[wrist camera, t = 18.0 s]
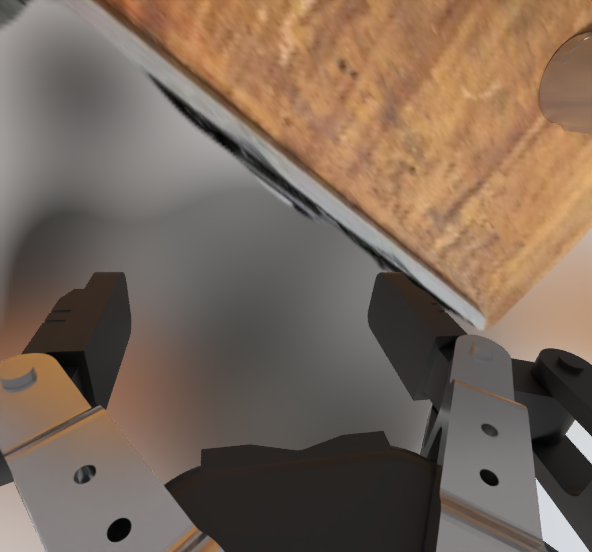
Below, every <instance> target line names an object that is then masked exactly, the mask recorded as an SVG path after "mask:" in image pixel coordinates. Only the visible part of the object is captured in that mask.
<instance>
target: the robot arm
mask: <svg viewBox="0 0 592 552" xmlns="http://www.w3.org/2000/svg"><path fill="white" fill-rule="evenodd" d="M539 102H540V107H541V110H542V112H543V115H544V116H545V117H546V118H547V119H548V120H549V121H551V122H553V123H557V124H560V125H562V126H563V129H564V130H565V131H572V132H580V133H588V134H592V32H587V33H583V34H579V35H577V36H575V37H573V38H571V39H570V40H569V41H567V42H566V43H565V44H564V45H562V47H561V48H560V49H559V50H558V51H557V52H556V53H555V55H554V56H553V58H552V59H551V60H550V62H549V64H548V66H547V68H546V70H545V72H544V75H543V78H542V81H541V85H540V91H539ZM368 323H369V327H370V329H371V331H372V333H373V334H374V336H375V337H376V339H377V341H378V342H379V344H380V346H381V347H382V349H383V351H384V352H385V354H386V356H387V357H388V359H389V361H390V362H391V364H392V366H393V367H394V369H395V371H396V372H397V374H398V376H399V377H400V379H401V381H402V382H403V384H404V385H405V387H406V389H407V391H408V392H409V394H410V396H411V397H412V399H413V400H414V401H415V400H427V399H430V401H431V402H432V405H431V407H430V410H429V413H428V417H427V422H426V427H425V432H424V437H423V441H422V446H421V451H420V455H419V454H417V453H415V452H412V451H409V450H406V449H402V448H399V447H395V446H390V444H389V442H388V440H387V438H386V436H385V434H384V431H378V432H368V433H358V434H349V435H342V436H339V437H336V438H333V439H331V440H328V441H325V442H323V443H320V444H317V445H315V446H312V447H309V448H307V449H304V450H299V451H297V450H288V449H281V448H273V447H264V446H258V445H240V446H231V447H221V448H211V449H202V450H201V466H198V467H195V468H193V469H190V470H188V471H186V472H184V473H182V474H180V475H179V476H177V477H175V478H174V479H172V480H170V481H169V482H168V483H166V484H165V485H163V484H162V483H161V481H160V480H159V479H158V477H157V476H156V475H155V474H154V472H152V470H151V468H150V467H149V466H148V465H147V463H146V462H145V461H144V459H143V458H142V457H141V455H140V454H139V453H138V452H137V450H136V449H135V448H134V446H133V445H132V444H131V442H130V441H129V440H128V439H127V437H126V436H125V435H124V433H123V432H122V431H121V430H120V428H119V427H118V426H117V425H116V423H115V422H114V421H113V419H112V418H111V417H110V415H109V414H108V413H107V411H106V408H107V405H108V402H109V399H110V396H111V393H112V390H113V387H114V384H115V381H116V378H117V375H118V372H119V369H120V365H121V362H122V359H123V356H124V353H125V350H126V347H127V344H128V341H129V338H130V334H131V312H130V304H129V297H128V290H127V283H126V277H125V274H124V273H123V272H95V273H94V274H93V276H92V277H91V279H90V280H89V282H88V284H87V285H86V287H85V289H74V290H72V291H71V292H69V293H68V294H66V295H65V296H63V297H62V298H60V299H59V300H58V302H57V303H56V305H55V306H54V307H53V309H52V310H51V313H49V315H48V316H47V318H46V319H45V323H42V325H41V326H40V328H39V329H38V331H37V332H36V333H35V335H34V336H33V338H32V339H31V341H30V342H29V344H28V345H27V347H26V348H25V349H24V351H23V352H22V354H21V355H18V356H14V357H11V358H8V359H6V360H3V361H1V362H0V486H2V485H5V484H8V483H10V482H13V481H14V484H15V486H16V488H17V490H18V492H19V495H20V497H21V499H22V501H23V504H24V506H25V508H26V510H27V512H28V515H29V517H30V519H31V521H32V524H33V526H34V528H35V530H36V533H37V535H38V537H39V539H40V541H41V544H42V546H43V548H44V550H45V552H558V551H557V550H555V549H554V548H553V547H551V546H550V545H548V544H547V543H546V542H544V541H543V539H542V532H541V523H540V514H539V505H538V496H537V488H536V479H535V477H536V478H537V480H538V481H539V483H540V484H541V485H542V487H543V488H544V489H545V491H546V492H547V494H548V495H549V496H550V498H551V499H552V500H553V502H554V503H555V504H556V506H557V507H558V509H559V510H560V511H561V513H562V514H563V515H564V517H565V518H566V520H567V521H568V522H569V524H570V525H571V526H572V528H573V529H574V530H575V532H576V533H577V534H578V536H579V537H580V539H581V540H582V541H583V543H584V544H585V546H586V547H587V548H588V550H589V551H590V552H592V464H591V463H590V462H589V461H588V460H587V458H586V457H585V456H584V455H583V454H582V453H581V452H580V451H579V450H578V449H577V448H576V446H575V445H574V444H573V443H572V442H571V441H570V440H569V438H568V437H567V436H566V435H565V434H566V432H567V431H568V430H569V428H570V426H571V425H572V424H573V422H574V420H576V421H578V423H579V424H580V425H581V426H582V427H583V428H584V429H585V430H586V431H587V432H588V433H589V434H590V435H591V436H592V365H591V364H590V363H588V362H587V361H585V360H584V359H582V358H580V357H578V356H576V355H574V354H572V353H569V352H566V351H563V350H559V349H552V348H551V349H550V348H549V349H544V350H542V351H541V352H540V353H539V356H538V357H537V359H536V361H535V362H529V361H524V360H517V359H512V358H511V357H510V355H509V354H508V352H507V351H506V350H505V349H504V348H503V347H502V346H500V345H499V344H497V343H496V342H494V341H492V340H490V339H487V338H484V337H481V336H478V335H468V334H467V333H466V332H465V331H464V330H463V329H462V328H461V327H460V326H459V325H458V324H457V323H456V322H455V321H454V320H453V319H452V318H451V317H450V316H449V314H448V313H445V310H444V309H443V308H442V307H441V306H440V305H438V303H437V302H436V301H435V300H434V299H433V298H432V297H431V296H430V295H429V294H428V293H426V292H425V291H423V290H421V289H420V288H418V287H416V286H414V285H413V284H412V283H411V282H410V281H409V279H408V278H407V277H406V276H405V275H404V274H403V273H400V272H381V273H379V274H378V275H377V277H376V280H375V284H374V288H373V292H372V297H371V301H370V305H369V310H368Z"/></svg>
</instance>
